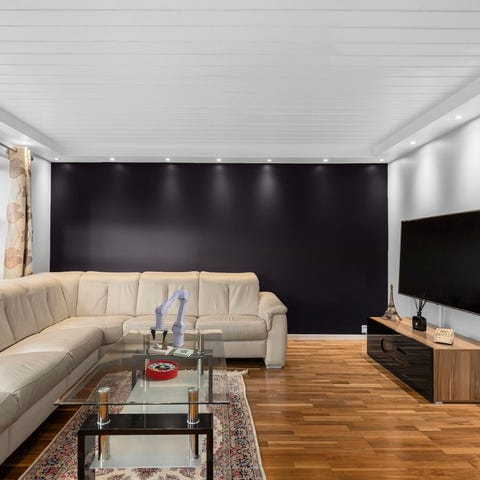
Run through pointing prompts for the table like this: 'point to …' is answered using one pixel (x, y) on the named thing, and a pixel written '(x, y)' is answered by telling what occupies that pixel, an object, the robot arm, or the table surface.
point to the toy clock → (162, 370)
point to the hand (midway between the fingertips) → (158, 340)
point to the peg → (164, 345)
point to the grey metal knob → (155, 345)
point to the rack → (185, 351)
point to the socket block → (160, 350)
